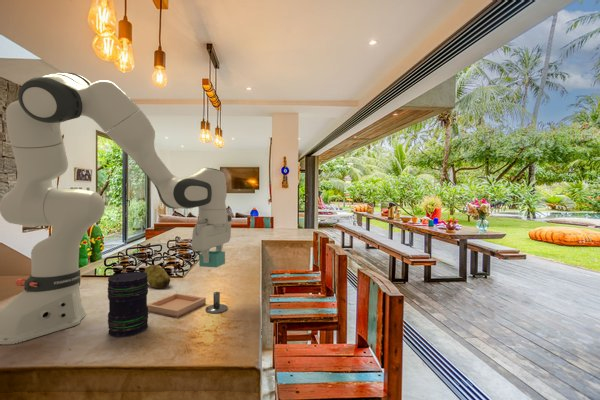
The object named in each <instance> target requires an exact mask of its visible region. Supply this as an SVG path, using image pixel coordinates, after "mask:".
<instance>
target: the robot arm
mask: <svg viewBox="0 0 600 400" xmlns="http://www.w3.org/2000/svg"><path fill="white" fill-rule="evenodd" d="M82 116H85V117H87V118H90V119H91V120H93V121H94V122H95V123H96V124H97V125H98V127H100V128H101V130H102V131H103V132H105V134H106V135H107V136H108V137H109V139H111V140H112V141H113V142H114V143H115V144H116V145H117V146H118V147H119V148H120V149H122V151H124V152H125V154H126V155H128V157H130V159H132V160H133V161H134V162H135V163H136V165H137V166H138V167H139V168H140V169H141V170H142V172H143V173H144V174H145V176H146V177H147V178H148V179H149V180H150V181H151V182H152V184H153V185H154V187H155V188H156V192H157V194H158V198H159V200H160V202H161V203H162V204H163V205H164V206H165V207H167V208H170V209H175V210H176V209H177V210H178V209H183V210H184V209H186V210H187V209H189V210H190V209H191V210H192V209H194V208H198V220H197V222H196V224H195V225H194V227H193V229H192V236H191V237H192V239H191V249H192V251H193V252H200V254H201V253H202V256H203V262H204V263H209V262H210V261H211V260H210V259H211V257H209V253H208V252H209V251H210V249H212V248H215V251H223V247H224V244H226V243H230V240H231V235H232V234H231V233H232V223H231V222H232V221H233V216H232V215H231V214H229V212H228V211H227V205H226V199H227V179H226V175H225V173H224V172H223V171H221V170H220V169H217V168H213V167H211V168H210V167H201V169H199V170H198V171H197V172H195V173H192V174H190V175H187V176H185V177H178V176H176V175H174V174H173V173H172V172H171V171H170V169H169V168H168V167H167V165H165V163H164V162H163V161H162V159H161V158H160V157H159V156H158V154H157V152H156V149H155V139H156V131H155V129H154V127H153V125H152V123H151V121H150V120H149V118H148V117H147V116H146V114H145V113H144V112H143V111H142V110H141V108H140V107H139V106H138V105H137V104H136V103H135V101H134V100H133V99H132V98H131V97H130V96H129V95H128V94H127V93H125V91H123V90H122V88H120V87H119V86H118V85H116V83H114V82H112V81H111V80H106V79H105V80H97V81H95V82H91V81H90V80H89V79H88V78H86V77H84V76H82V75H80V74H77V73H73V72H63V73H62V72H57V73H55V72H54V73H49V74H46V75H43V76H36V77H33V78H30V79H29V80H26V81H25V82H24V83H23V84H21V86H20V88H19V89H18V93H17V100H16V101H13V102H10V103H9V104H8V106H6V109H5V120H6V129H7V135H8V140H9V143H10V147H11V150H12V153H13V156H14V157H13V158H14V161H15V165H16V171H17V172H16V173H17V176H16V177H17V178H16V181H15V183H14V186H13V187H12V188H11V189H10V190H9V191H8V192H6V193H5V194H4V195H3V197H2V198H1V199H0V215H1V217H2V218H3V220H4V221H5V222H7V223H9V224H13V225H14V224H15V225H19V226H26V227H52V232H51V234H50V236H49V237H47V238H44V239H42V240H41V241H38V242H37V243H35V245H33V247H32V249H31V252H30V256H31V257H30V263H31V264H30V265H31V270H30V271H31V272H30V273H31V274H30V275H29V277H27V279H26V278H20V277H19V278H17V279H16V280H15V281H14V285H16V286H18V287H23V290H22V291H21V292H20V293H18V295H17V296H15V297H14V298H13V299H11V300H10V301H9V302H8V303H7V304H5V305H4V306H3V307H2V308H0V345H16V344H19V343H22V341H23V342H25V341H28V340H32V339H35V338H39V337H43V336H45V335H49V334H51V333H55V332H58V331H61V330H65V329H68V328H72V327H74V326H78V325H80V324H81V320H82V319H84V317H85V316H86V312H85V308H84V305H83V301H82V296H81V290H80V286H81V278H82V277H81V269H80V268H79V264H80V263H79V262H80V261H79V260H80V259H79V258H80V247H81V246H80V245H81V242H82V240H83V237H84V236H85V234H86V233H87V231H88V230H89V229H90V228H91V227H92V226H93V225H95V224H96V223H98V222H99V221H100V220H101V219H102V217H103V215H104V213H105V211H106V206H105V204H106V203H105V201H104V198H103V197H102V196H101V195H100V193H99V192H97V191H93V190H90V189H82V188H55V187H54V186H53V183H52V181H53V180H55V179H57V178H59V177H61V176H63V174H65V173H66V172H67V170H68V168H69V161H68V157H67V152H66V148H65V145H64V144H65V143H64V140H63V135H62V132H61V123H64V122H67V121H70V120H74V119H78V118H80V117H82ZM18 342H19V343H18ZM15 343H16V344H15Z"/></svg>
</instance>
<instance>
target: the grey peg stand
mask: <svg viewBox="0 0 600 400" xmlns="http://www.w3.org/2000/svg"><path fill="white" fill-rule="evenodd" d="M220 294H221V292H220V291H213V299H212V300H213V304H211V305H208V306H206V307H205V312H206V313H208V314H220V313H221V314H222V313H225V312H227V310H228V309H229V307H228V305H227V304H223V303H221V301H220V300H221V295H220Z"/></svg>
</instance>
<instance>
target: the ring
mask: <svg viewBox="0 0 600 400" xmlns="http://www.w3.org/2000/svg"><path fill="white" fill-rule="evenodd" d="M208 253H209V257H211V259H210V260H211V261H210V262H209V263H204V262H203V256H202V253H201V252H200V253H199V257H198V259H199V264H198V265H199V266H198V267H204V268H219V267H221V266H222V265H225V264H226V251H225V250H222V251H216V250H209V252H208Z"/></svg>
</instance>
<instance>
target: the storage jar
mask: <svg viewBox="0 0 600 400" xmlns="http://www.w3.org/2000/svg"><path fill="white" fill-rule="evenodd" d="M147 277H148V274H147V273H145V272H144V271H127V272H121V273H116V274H113V275H110V276H108V277H107V282H108V283H107V299H108V300H109V301H108V305H109V307H108V308H109V309H108V311H109V312H108V313H107V325H108V326H107V328H108V336H110V337H111V338H112V337H113V338H129V337H132V336H133V337H134V336H136V335H139V334H142V333H143V332H145V331H146V330H147V329H148V327H149V324H148V319H149V312H148V307H147V304H148V303H147V301H148V296H147V295H148V294H149V289H148V288H149V283H148V279H147Z"/></svg>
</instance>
